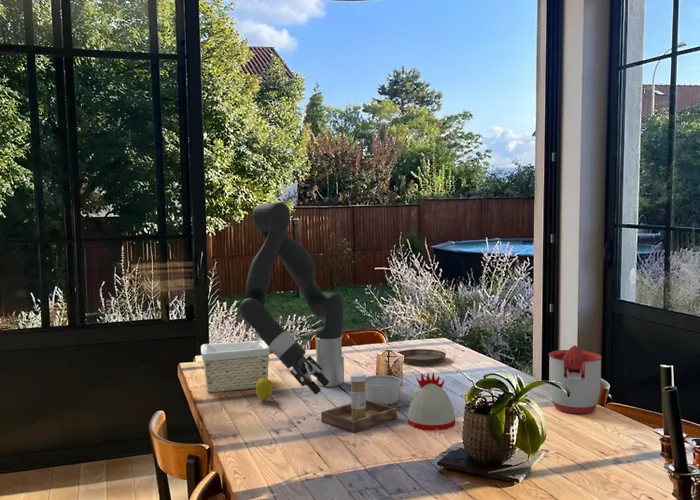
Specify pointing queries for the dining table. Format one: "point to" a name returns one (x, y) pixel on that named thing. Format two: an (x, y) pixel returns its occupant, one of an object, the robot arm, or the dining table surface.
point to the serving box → (373, 417)
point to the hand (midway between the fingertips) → (323, 388)
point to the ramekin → (382, 389)
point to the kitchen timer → (431, 406)
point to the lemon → (264, 388)
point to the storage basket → (235, 365)
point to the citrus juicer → (575, 379)
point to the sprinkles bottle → (358, 395)
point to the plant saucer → (422, 356)
